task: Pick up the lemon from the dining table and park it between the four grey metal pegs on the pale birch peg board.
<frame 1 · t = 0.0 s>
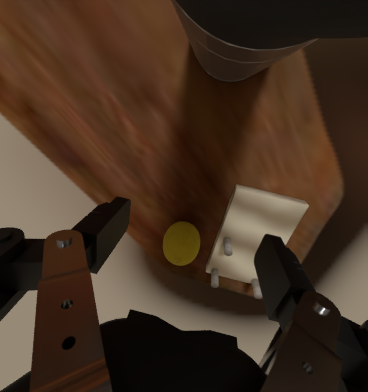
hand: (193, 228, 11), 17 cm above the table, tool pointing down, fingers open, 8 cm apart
lemon: (185, 225, 33), on the table
peg board: (248, 237, 32), on the table
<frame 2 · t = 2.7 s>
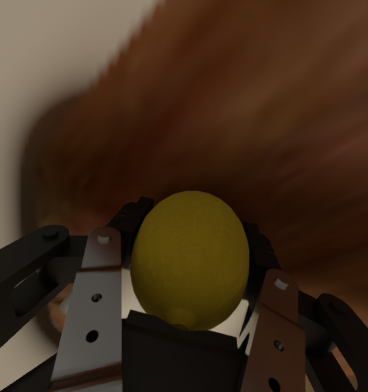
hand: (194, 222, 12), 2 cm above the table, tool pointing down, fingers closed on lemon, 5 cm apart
lemon: (196, 209, 14), on the table, touching gripper
peg board: (180, 309, 18), on the table
when the fingers open (4 cm above the table, at t = 7.1 s): lemon drops 1 cm, resting on peg board.
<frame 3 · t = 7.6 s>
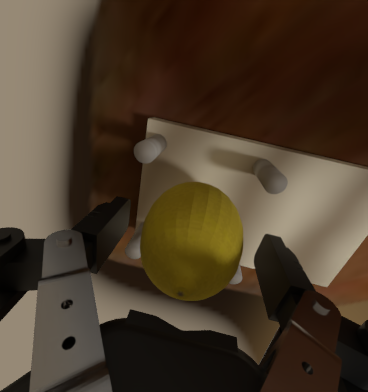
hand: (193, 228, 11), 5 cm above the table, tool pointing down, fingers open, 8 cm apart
lemon: (198, 200, 15), point 1 cm above the table, touching peg board
peg board: (246, 204, 16), on the table
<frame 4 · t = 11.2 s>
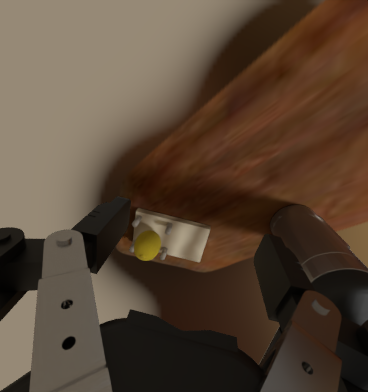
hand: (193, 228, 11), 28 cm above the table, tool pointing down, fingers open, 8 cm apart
lemon: (153, 233, 46), point 1 cm above the table, touching peg board
peg board: (170, 234, 47), on the table
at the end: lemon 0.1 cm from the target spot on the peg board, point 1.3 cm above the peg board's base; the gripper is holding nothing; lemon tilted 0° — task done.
